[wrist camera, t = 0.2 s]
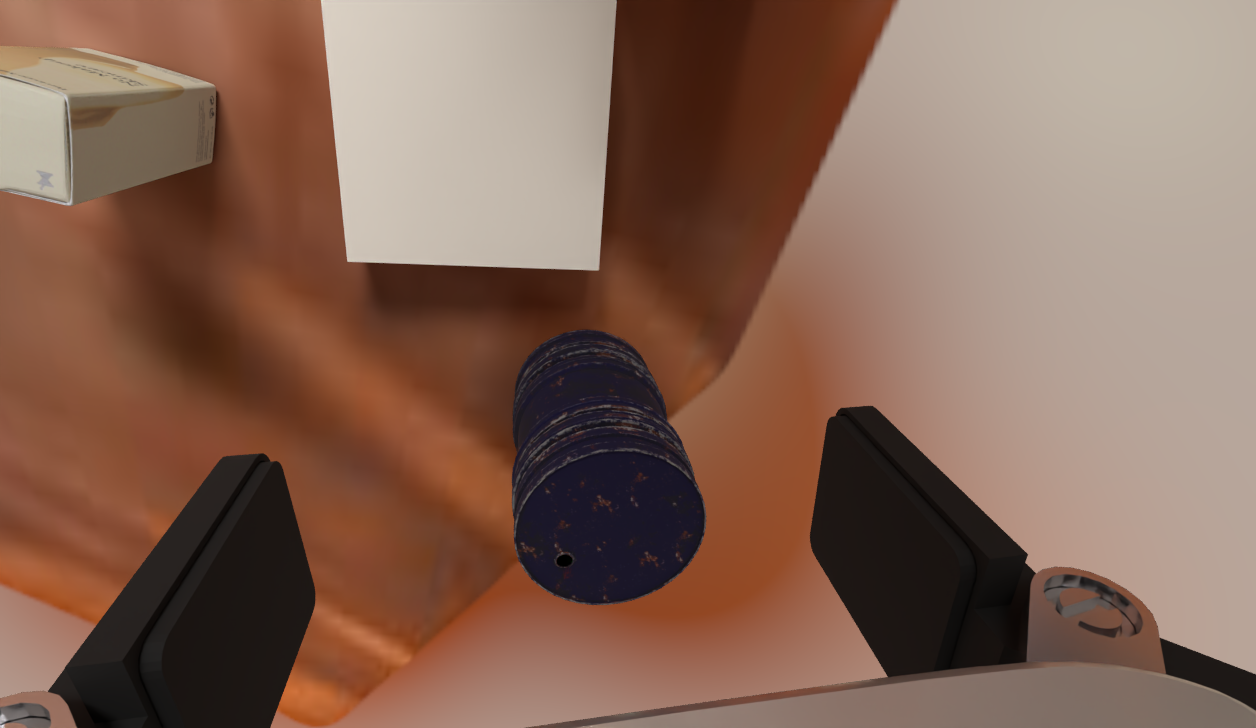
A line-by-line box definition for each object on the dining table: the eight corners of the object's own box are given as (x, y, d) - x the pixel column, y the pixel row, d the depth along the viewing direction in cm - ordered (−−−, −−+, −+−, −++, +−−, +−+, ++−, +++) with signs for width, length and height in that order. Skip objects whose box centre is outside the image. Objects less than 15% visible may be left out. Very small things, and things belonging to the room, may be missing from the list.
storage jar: (605, 300, 43) (646, 409, 29) (678, 405, 47) (742, 542, 34) (483, 380, 44) (468, 520, 30) (564, 475, 48) (583, 635, 35)
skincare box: (219, 83, 34) (79, 94, 23) (215, 165, 36) (81, 211, 25) (77, 43, 32) (-145, 34, 22) (79, 131, 34) (-127, 164, 23)
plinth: (336, -25, 33) (317, -33, 30) (607, 5, 35) (616, 0, 32) (361, 245, 39) (347, 261, 36) (592, 254, 41) (598, 270, 38)
